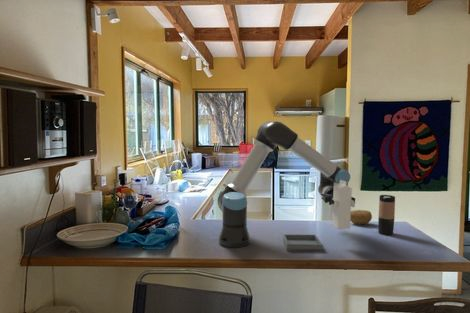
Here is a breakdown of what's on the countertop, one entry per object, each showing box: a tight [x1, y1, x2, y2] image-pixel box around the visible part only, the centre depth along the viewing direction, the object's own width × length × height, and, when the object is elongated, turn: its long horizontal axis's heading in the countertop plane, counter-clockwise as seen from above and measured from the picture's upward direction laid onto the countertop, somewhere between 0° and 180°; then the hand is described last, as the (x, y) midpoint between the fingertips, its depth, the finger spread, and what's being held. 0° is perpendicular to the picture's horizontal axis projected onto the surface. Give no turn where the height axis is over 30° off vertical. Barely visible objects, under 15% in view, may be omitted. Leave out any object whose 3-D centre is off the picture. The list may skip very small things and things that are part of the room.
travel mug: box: [377, 194, 396, 236], centre depth 170 cm, size 8×8×20 cm
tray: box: [282, 233, 324, 252], centre depth 152 cm, size 16×14×3 cm
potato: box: [350, 209, 373, 225], centre depth 188 cm, size 10×14×8 cm
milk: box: [331, 180, 353, 230], centre depth 150 cm, size 6×6×22 cm
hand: (345, 204), depth 145 cm, fingers closed on milk, 7 cm apart
